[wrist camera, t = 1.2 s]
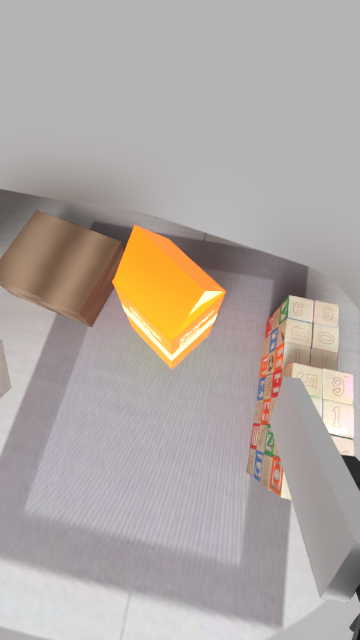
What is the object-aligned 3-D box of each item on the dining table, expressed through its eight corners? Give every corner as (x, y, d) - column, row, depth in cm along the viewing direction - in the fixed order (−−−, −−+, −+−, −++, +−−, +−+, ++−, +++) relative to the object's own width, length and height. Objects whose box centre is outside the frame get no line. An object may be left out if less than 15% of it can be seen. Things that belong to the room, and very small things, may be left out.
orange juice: (171, 370, 40) (169, 323, 21) (131, 327, 42) (96, 249, 23) (209, 334, 42) (239, 261, 23) (169, 294, 44) (166, 198, 25)
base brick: (12, 294, 43) (-12, 275, 38) (53, 235, 47) (36, 210, 42) (92, 327, 42) (79, 313, 36) (127, 263, 46) (121, 241, 40)
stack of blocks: (265, 319, 43) (300, 281, 31) (306, 328, 42) (356, 293, 31) (245, 473, 36) (280, 499, 24) (295, 486, 35) (354, 517, 24)
